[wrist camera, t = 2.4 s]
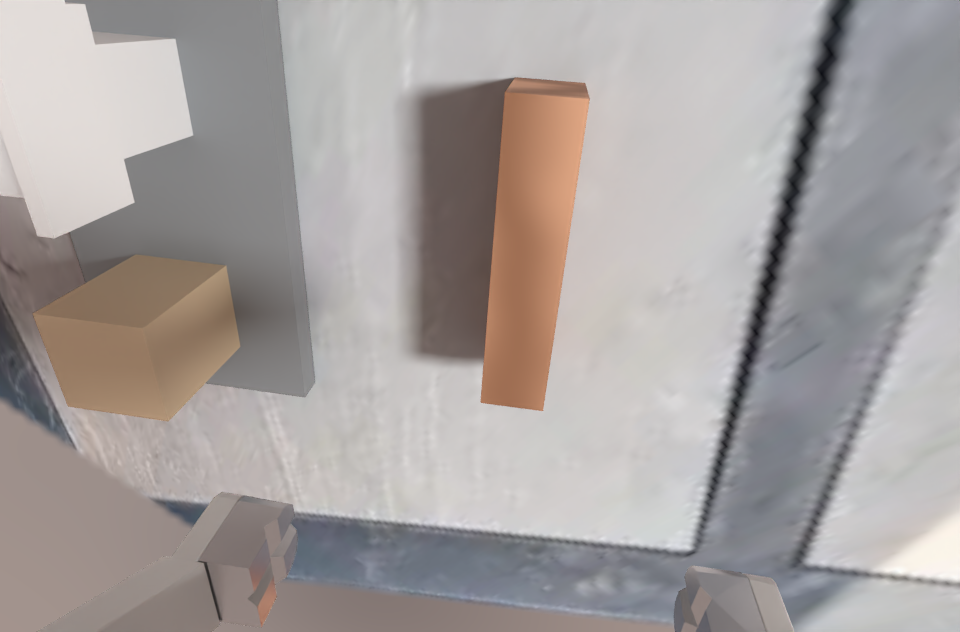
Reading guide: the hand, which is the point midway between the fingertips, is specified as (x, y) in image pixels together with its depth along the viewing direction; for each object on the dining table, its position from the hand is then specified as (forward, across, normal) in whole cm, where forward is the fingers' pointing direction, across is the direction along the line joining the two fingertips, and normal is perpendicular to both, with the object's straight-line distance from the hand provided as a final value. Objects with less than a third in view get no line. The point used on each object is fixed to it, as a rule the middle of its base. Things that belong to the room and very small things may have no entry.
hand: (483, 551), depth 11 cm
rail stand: (+18, +18, 0) cm, 26 cm away
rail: (+18, 0, 0) cm, 19 cm away
